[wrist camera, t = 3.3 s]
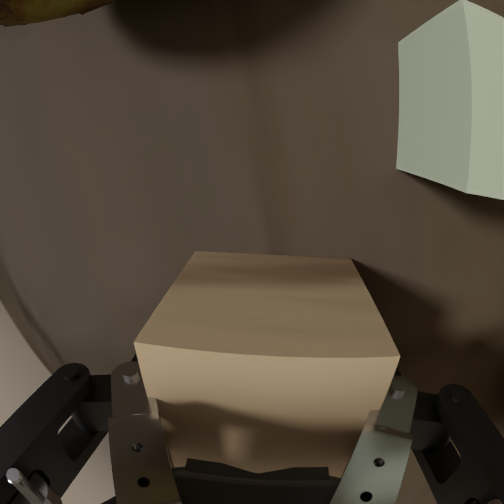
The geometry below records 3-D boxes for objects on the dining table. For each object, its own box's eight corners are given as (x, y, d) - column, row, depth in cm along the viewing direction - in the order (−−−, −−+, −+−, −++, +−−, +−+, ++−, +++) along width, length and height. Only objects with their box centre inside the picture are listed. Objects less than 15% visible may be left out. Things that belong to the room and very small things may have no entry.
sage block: (397, 43, 9) (462, -2, 4) (496, 74, 8) (575, 64, 4) (395, 168, 11) (465, 192, 6) (493, 185, 10) (572, 216, 6)
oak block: (195, 251, 12) (133, 342, 7) (350, 258, 12) (400, 355, 6) (203, 368, 14) (171, 471, 9) (329, 375, 14) (344, 482, 8)
